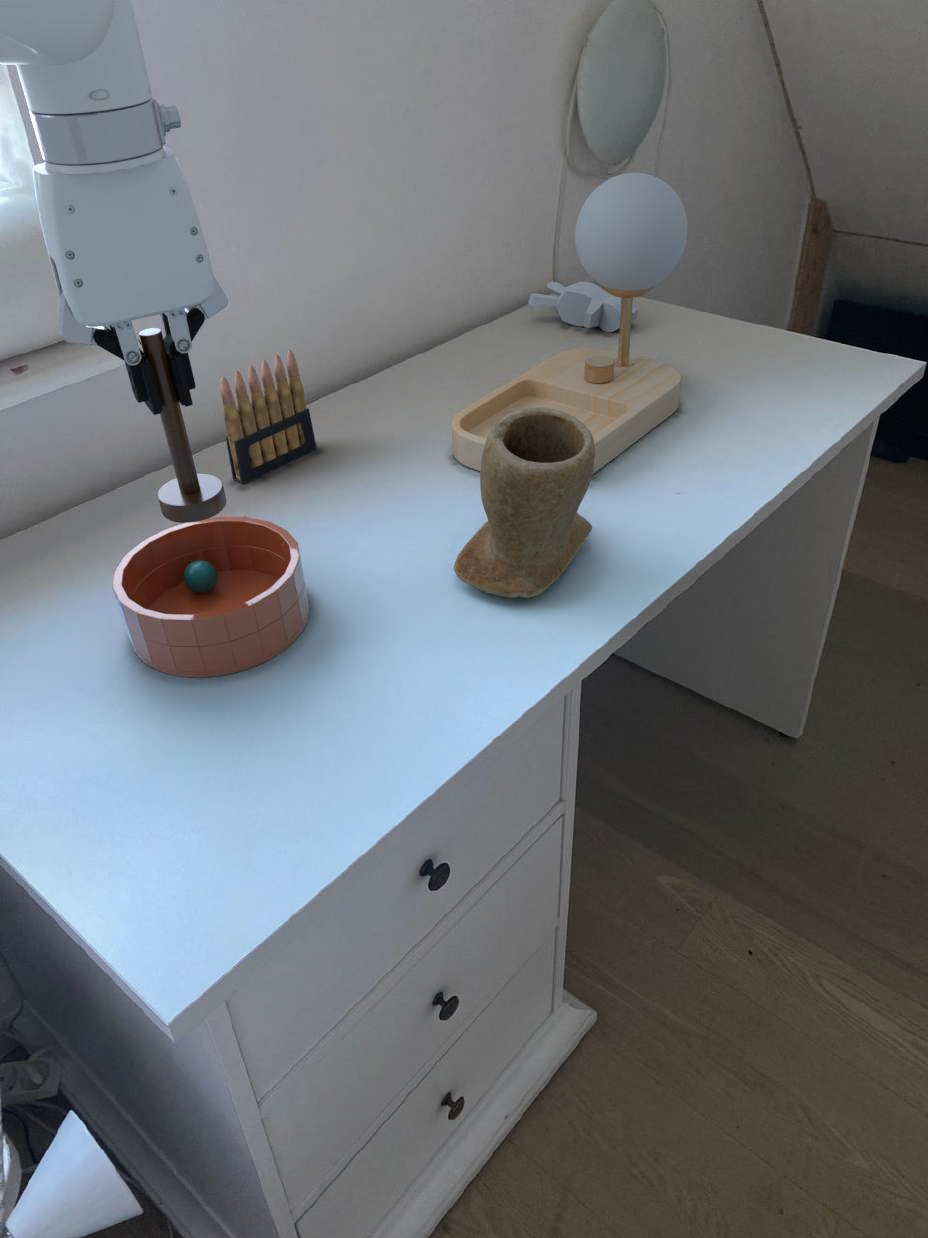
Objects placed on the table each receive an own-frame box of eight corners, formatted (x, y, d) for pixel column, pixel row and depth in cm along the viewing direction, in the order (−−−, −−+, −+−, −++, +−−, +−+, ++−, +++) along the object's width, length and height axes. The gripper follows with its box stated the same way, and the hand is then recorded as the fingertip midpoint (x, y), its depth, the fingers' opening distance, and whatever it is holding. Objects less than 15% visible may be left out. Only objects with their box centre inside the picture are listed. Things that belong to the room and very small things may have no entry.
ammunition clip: (306, 444, 111) (290, 344, 103) (317, 448, 110) (301, 348, 102) (232, 479, 105) (210, 376, 97) (242, 484, 104) (220, 381, 96)
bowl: (159, 702, 76) (141, 644, 72) (111, 605, 87) (93, 550, 83) (337, 635, 82) (328, 578, 78) (271, 552, 92) (260, 499, 89)
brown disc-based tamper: (172, 530, 74) (123, 351, 65) (154, 502, 78) (105, 329, 69) (235, 510, 76) (195, 334, 67) (214, 483, 80) (174, 313, 71)
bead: (193, 603, 85) (185, 576, 83) (183, 587, 87) (175, 560, 85) (225, 592, 86) (218, 565, 85) (214, 577, 88) (207, 550, 87)
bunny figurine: (619, 312, 129) (524, 284, 135) (613, 348, 132) (521, 319, 138) (648, 292, 135) (556, 265, 141) (641, 326, 139) (552, 299, 144)
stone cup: (555, 624, 81) (559, 469, 72) (438, 588, 86) (427, 439, 77) (623, 538, 92) (633, 393, 83) (514, 510, 97) (513, 371, 88)
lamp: (561, 500, 98) (566, 248, 83) (433, 456, 107) (416, 222, 92) (707, 388, 118) (733, 169, 103) (589, 359, 127) (597, 154, 112)
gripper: (200, 111, 66) (249, 363, 77) (-39, 145, 60) (52, 413, 71) (236, 127, 61) (283, 394, 72) (-21, 166, 55) (73, 451, 66)
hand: (167, 402), depth 72 cm, fingers closed on brown disc-based tamper
